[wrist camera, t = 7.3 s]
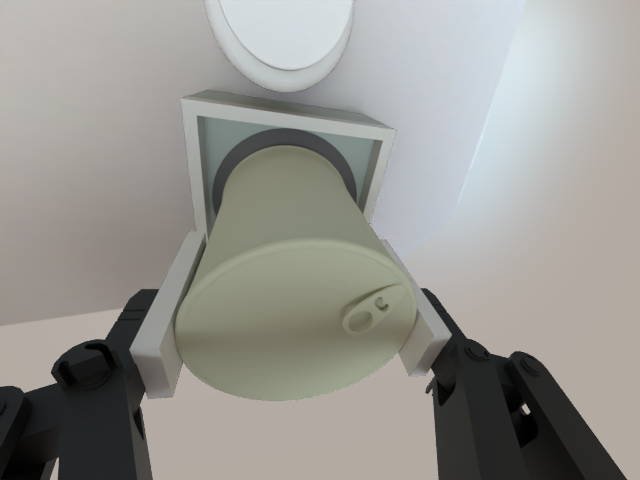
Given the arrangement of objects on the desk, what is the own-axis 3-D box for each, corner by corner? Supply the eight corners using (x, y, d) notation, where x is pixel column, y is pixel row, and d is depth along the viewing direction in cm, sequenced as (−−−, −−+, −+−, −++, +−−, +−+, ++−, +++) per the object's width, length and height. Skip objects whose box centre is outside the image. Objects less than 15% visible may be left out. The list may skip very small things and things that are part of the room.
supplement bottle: (238, 85, 20) (204, 101, 10) (220, -34, 17) (135, -210, 6) (321, 84, 21) (371, 98, 11) (321, -29, 18) (398, -175, 7)
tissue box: (217, 231, 27) (201, 278, 21) (207, 89, 20) (180, 98, 14) (336, 236, 30) (353, 280, 24) (362, 114, 23) (396, 130, 17)
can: (366, 219, 21) (452, 351, 11) (274, 274, 23) (279, 432, 13) (305, 115, 16) (362, 185, 6) (193, 194, 18) (96, 351, 8)
